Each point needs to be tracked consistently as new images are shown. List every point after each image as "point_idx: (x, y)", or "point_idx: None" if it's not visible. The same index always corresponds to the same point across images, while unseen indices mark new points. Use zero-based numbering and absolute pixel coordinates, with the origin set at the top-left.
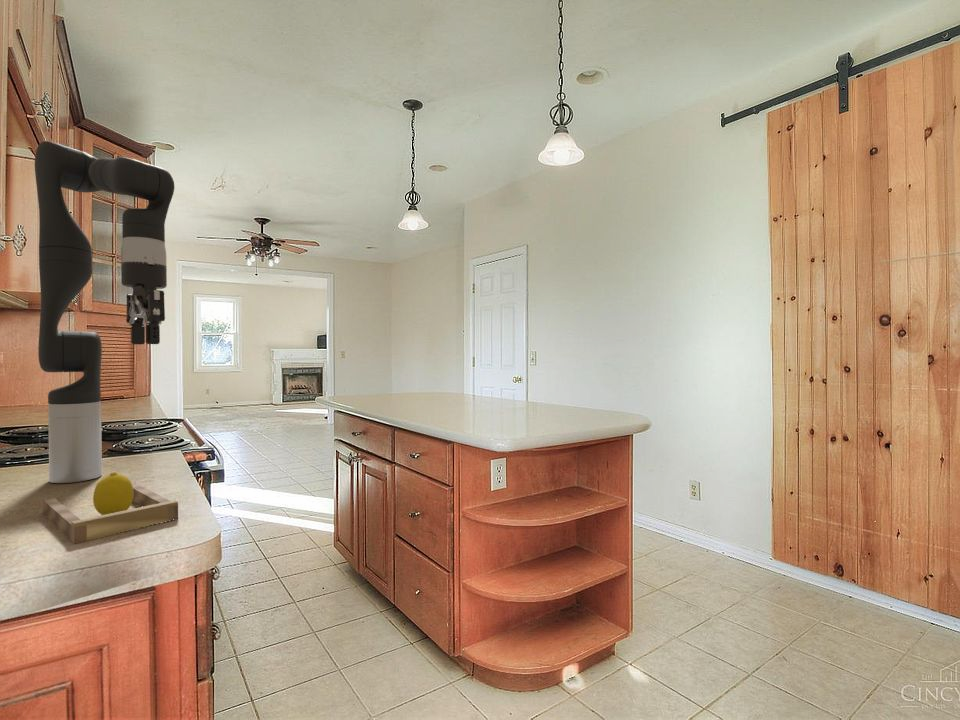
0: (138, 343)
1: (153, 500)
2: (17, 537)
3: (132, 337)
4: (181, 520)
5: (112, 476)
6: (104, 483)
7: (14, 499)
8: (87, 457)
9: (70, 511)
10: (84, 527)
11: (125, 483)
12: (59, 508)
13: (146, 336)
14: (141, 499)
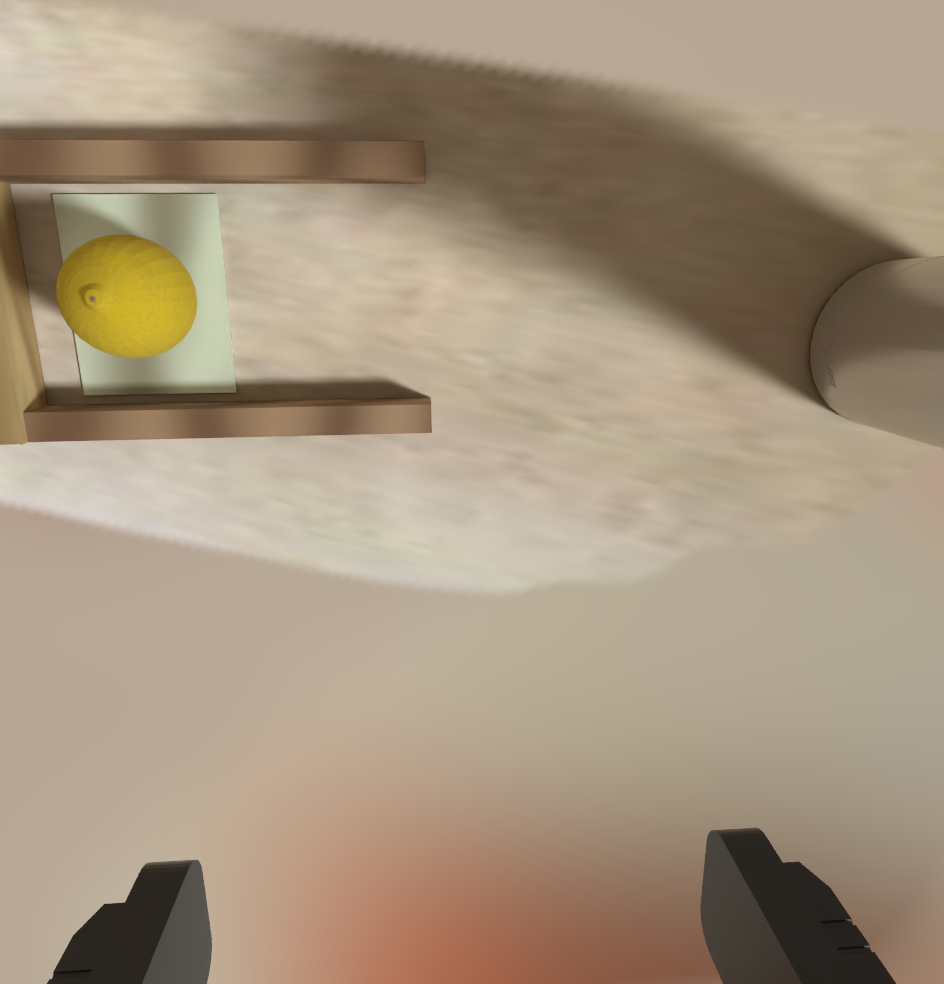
0: (711, 881)
1: (136, 409)
2: (173, 39)
3: (745, 889)
4: None
5: (75, 289)
6: (70, 259)
7: (723, 117)
8: (862, 375)
9: (158, 174)
10: None
11: (69, 326)
12: (232, 157)
13: (122, 931)
14: (266, 404)
